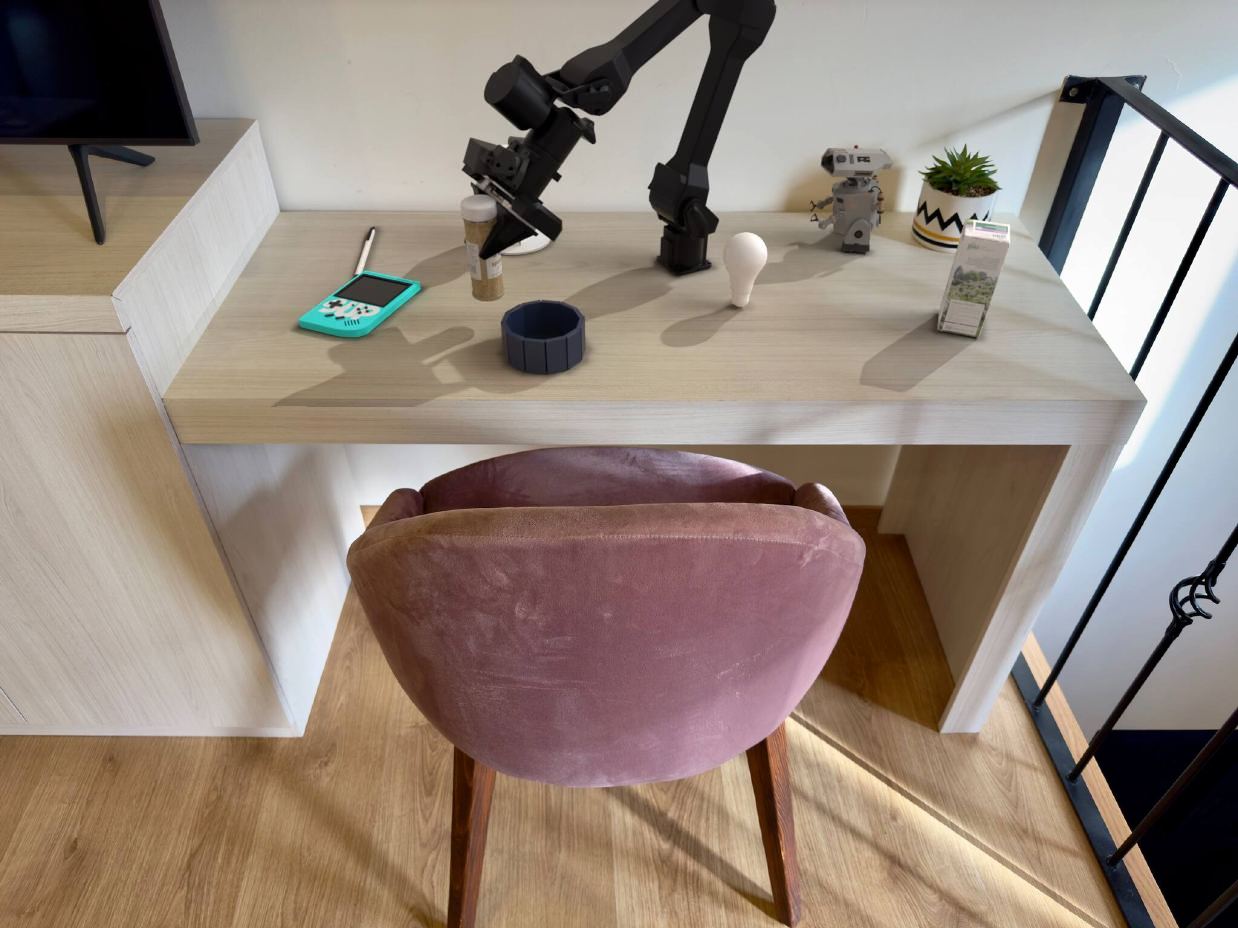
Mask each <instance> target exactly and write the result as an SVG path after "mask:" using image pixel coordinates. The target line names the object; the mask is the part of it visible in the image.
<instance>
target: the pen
mask: <svg viewBox="0 0 1238 928" xmlns="http://www.w3.org/2000/svg"><path fill="white" fill-rule="evenodd" d="M375 228H376V227H375V226H372V227H370V228H369V231H368V234H367V237H366V238H365V239H366V240H365V243H364V245H363V248H362V252H361V255H360V258H359V261H358V263H357V267H356V270H355V272H354V275H353V276H354V277H353V278H355V277H356V276H357V275H359V274H360V273H362V272H363V271H364V268H365V264H366V262H367V258H368V255H369V252H370V249H371V246H372V243H373V240H374V237H375V234H376V229H375Z"/></svg>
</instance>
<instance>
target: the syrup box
mask: <svg viewBox="0 0 1238 928" xmlns="http://www.w3.org/2000/svg"><path fill="white" fill-rule="evenodd" d="M963 223H964V224H963V227H962V229H961V233H960V236H959V240H958V244H957V247H956V250H955V254H954V258H953V261H952V266H951V268H950V272H949V275H948V279H947V282H946V286H945V288H944V292H943V296H942V299H941V303H940V306H939V310H938V320H937V327H936V328H937V329H936V330H937V331H938V332H943V333H948V334H955V335H961V336H966V337H972V338H980V336H981V333H982V331H983V327H984V324H985V321H986V318H987V316H988V312H989V309H990V306H991V304H992V300H993V297H994V294H995V291H996V288H997V285H998V282H999V279H1000V276H1001V273H1002V270H1003V267H1004V264H1005V261H1006V259H1007V256H1008V253H1009V249H1010V246H1011V225H1010V224H1009V223H1008V224H1007V223H1000V222H993V221H987V220H986V221H985V220H979V219H973V218H972V219H971V218H965V220H964V222H963Z"/></svg>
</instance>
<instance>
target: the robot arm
mask: <svg viewBox="0 0 1238 928" xmlns="http://www.w3.org/2000/svg"><path fill="white" fill-rule="evenodd" d="M777 6H778V5H777V4H776V1H775V0H657V1H656V2H654V4H653V5H651V6H650V7H649V8H648V9H647V10H645V11H644V12H643V13H642V14H641V15H639V16H638V17H637V18H636V19H635V20H634V21H632V22H631V23H630V24H629V25H628V26H626V27H625V28H624V29H623V30H622V31H620V32H619V33H618V34H616V36H615V37H613V38H612V39H610V40H608V41H606V42H605V43H601V44H599V45H595V46H593V47H589V48H586V49H585V50H583V51H581V52H580V53H578V54H576V55H574V56H573V57H571V58H570V59H568V60H566V61H565V63H564V64H563V65H562V66H561V67H560V68H558V69H556V70H553V71H550V72H547V73H544V74H541V73H540V72H539V71H538V70H536V68H535V67H534V65H533V63H532V62H530V61H529V60H528V59H527V57H524V56H523V55H520V54H515V56H514V57H513V60H512V61H510V62H506V63H504V64H503V65H501V66H500V67H499V68H498V69H497V70H496V71H493V72H492V73H491V74H490V76H489V78H488V80H487V81H486V83H485V86H484V89H483V98H484V101H485V102H486V104H488V105H489V106H490V107H491V108H493V109H494V110H495V111H496V112H497V113H498V114H499V115H500V116H502V117H503V118H504V119H505V120H507V121H508V122H509V123H510V124H511V125H512V126H513V127H514V128H516V129H517V130H518V131H520V132H525V131H528V130H529V131H528V132H527V133H526V134H525V136H524V137H523V138H524V139H523V141H522V142H521V143H520V142H518V141H517V140H514V141H512V142H511V143H510V144H509V145H508V144H507V145H508V147H507V148H505V147H503V146H501V145H502V144H495V143H492V142H488V141H485V140H481V139H478V138H475V137H469V139H468V143H467V146H466V150H465V153H464V157H463V160H462V164H463V167H462V168H461V172H463V173H464V174H466V175H467V176H468V177H469V178H470V179H473V180H474V182H476V183H474V182H472V181H471V182H470V188H471V189H472V191H473V195H488V196H491V197H493V198H494V199H495V200H496V204H497V218H496V220H497V222H496V224H495V225H494V227H493V229H492V231H491V232H490V234H489V236H488V238H487V239H486V241H485V243H484V244H483V246H482V248H481V251H480V253H479V255H478V256H479V257H480V258H481V259H483V260H487V259H489V258H490V257H492V256H494V255H496V254H498V253H499V252H501V251H503V250H505V249H507V248H508V247H510V246H512V245H514V244H516V243H518V242H520V241H522V240H525V239H527V238H529V237H531V236H535V237H537V236H538V235H539V234H538V233H537V232H536V231H535V230H536V229H537V230H538V231H540V232H541V233H542V234H544V235H545V236H546V237H548V238H549V239H550V241H551V242H552V243H555V241H556V240H557V239H558V237H559V236H560V235H561V233H562V232H563V219H561V218H560V217H559V216H558V215H556V214H554V212H552V211H551V210H550V209H548V208H547V207H546V206H544V205H543V204H544V201H542V200H541V199H540V197H541V196H542V194H543V193H544V191H545V190H546V189H547V187H548V186H549V184H550V183H551V182H552V180H553V181H554V182H556V183H559V182H560V181H561V179H562V177H563V175H562V174H560V172H558V171H559V170H560V168H561V167H562V165H563V164H564V163H565V161H566V160H567V159H568V157H569V156H570V154H571V153H572V151H573V150H574V148H575V147H576V146H577V144H578V143H579V142H580V140H581V139H582V140H584V141H586V142H588V143H589V144H590V145H595V144H596V143H597V136H596V132H595V121H593V120H592V119H590V118H589V117H587V116H584V117H580V116H579V115H578V114H577V113H576V112H575V111H574V110H573V109H575V110H577V109H579V110H581V111H582V112H584V113H586V114H588V115H590V116H594V117H595V116H596V117H597V116H598V117H603V116H605V115H606V114H608V113H609V112H611V110H612V109H613V108H614V107H615V106H616V105H617V104H618V103H619V102H620V100H621V99H622V97H624V95H625V94H626V93H627V92H628V89H629V87H630V85H631V82H632V79H633V78H634V76H635V75H636V73H637V72H638V71H639V70H640V69H641V68H642V67H644V66H645V65H646V64H647V63H648V62H649V61H651V60H652V59H653V58H654V57H655V56H657V55H658V54H659V53H660V52H661V51H662V50H663V49H665V48H666V47H667V46H668V45H670V44H671V43H672V42H673V41H674V40H675V39H676V38H677V37H679V36H680V35H682V34H683V33H684V32H685V31H686V30H687V29H688V28H689V27H691V26H692V25H693V24H694V23H695V22H697V21H698V20H699V19H700V18H701V17H703V16H704V15H707V16H709V19H708V24H707V26H708V37H709V46H710V49H709V53H708V56H707V59H706V62H705V65H704V68H703V71H702V74H701V77H700V80H699V83H698V86H697V89H696V92H695V95H694V98H693V101H692V104H691V107H690V110H689V113H688V116H687V119H686V122H685V124H684V127H683V131H682V133H681V136H680V138H679V143H678V145H677V148H676V151H675V153H674V155H673V156H672V157H671V158H670V159H669V160H668V161H667V162H666V163H665V164H664V163H662V162H660V161H659V162H658V161H657V163H656V165H655V166H654V169H653V171H654V172H653V176H652V179H651V181H650V183H649V185H648V186H647V189H648V190H649V192H648V193H649V194H648V202H649V204H650V206H651V209H652V210H653V211H654V212H656V216H657V219H658V220H659V221H662V222H663V223H664V224H666V225H663V229H662V230H663V231H662V236H661V237H660V244H659V245H660V246H659V247H660V248H659V255H656V260H657V261H658V262H659V263H660V264H661V265H663V266H664V267H665V268H667V269H668V270H669V271H670V272H672V273H673V274H674V275H676V276H682V275H687V274H690V273H694V272H698V271H702V270H705V269H706V270H707V269H709V268H712V267H713V263H712V262H711V261H710V260H709V259H707V256H708V255H707V253H708V243H709V235H712V234H715V233H716V231H717V228H718V225H719V222H720V218H719V217H718V216H717V215H716V214H715V213H714V212H713V211H712V210H711V209H710V208H709V207H708V206H707V202H708V197H709V194H710V179H709V169H708V166H709V163H710V160H711V158H712V154H713V151H714V149H715V146H716V143H717V140H718V137H719V135H720V132H721V129H722V126H723V123H724V121H725V118H726V115H727V112H728V110H729V107H730V104H731V101H732V98H733V95H734V93H735V91H736V90H735V89H736V87H737V85H738V82H739V79H740V76H741V74H742V70H743V68H744V66H745V64H746V61H748V60H749V58H750V57H751V56H752V55H754V53H755V52H756V51H757V50H758V49H759V48H760V47H761V46H762V45H763V43H764V41H765V40H766V38H767V35H768V34H769V32H770V29H771V28H772V25H773V23H774V21H775V18H776V15H777V9H778V7H777ZM556 100H557V101H558V102H561V103H562V104H564V105H566V106H558V105H556V103H555V102H556ZM509 196H510V197H509ZM513 199H514V200H513ZM504 200H506V201H507V202H509V203H510V204H511V205H512V206H511V207H510V208H509V210H508V209H507V208H506V207H504V206H503V205H502V203H503V202H504ZM465 238H466V236H465V237H464V240H463V244H464V245H466V239H465Z"/></svg>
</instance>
